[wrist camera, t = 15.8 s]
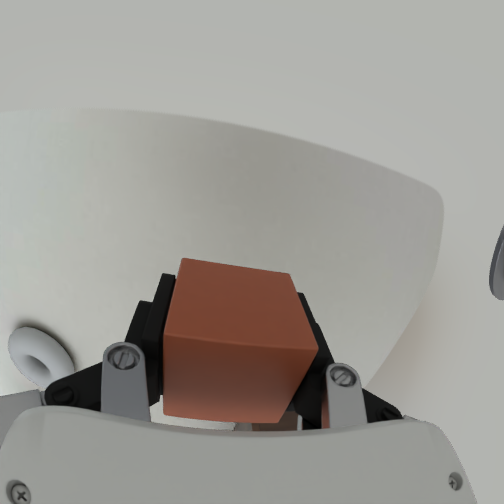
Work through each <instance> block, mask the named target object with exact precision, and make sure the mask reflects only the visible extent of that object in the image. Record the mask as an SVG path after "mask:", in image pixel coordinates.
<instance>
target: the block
mask: <svg viewBox="0 0 504 504" xmlns="http://www.w3.org/2000/svg"><path fill="white" fill-rule="evenodd" d="M317 352H318V345H317V342H316V340H315V337H314V334H313V332H312V329H311V327H310V324H309V322H308V319H307V317H306V314H305V311H304V309H303V306H302V304H301V301H300V299H299V296H298V294H297V291H296V289H295V286H294V284H293V281H292V279H291V277H290V274H288V273H281V272H274V271H267V270H260V269H253V268H247V267H240V266H233V265H227V264H220V263H214V262H207V261H201V260H194V259H188V258H182V260H181V264H180V268H179V271H178V275H177V279H176V283H175V287H174V291H173V295H172V299H171V303H170V307H169V312H168V316H167V320H166V325H165V329H164V335H163V413H164V415H168V416H174V417H182V418H190V419H199V420H209V421H222V422H241V423H278V422H279V420H280V418H281V417H282V415H283V413H284V412H285V410H286V408H287V407H288V405H289V403H290V401H291V400H292V398H293V396H294V395H295V393H296V391H297V389H298V387H299V386H300V384H301V382H302V380H303V378H304V376H305V375H306V373H307V371H308V369H309V367H310V365H311V363H312V361H313V359H314V357H315V356H316V354H317Z"/></svg>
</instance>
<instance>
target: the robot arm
mask: <svg viewBox="0 0 504 504" xmlns="http://www.w3.org/2000/svg"><path fill="white" fill-rule="evenodd" d="M175 283H176V279H175V275H171V274H165V273H162V276H161V279H160V282H159V285H158V288H157V291H156V294H155V297H154V300H153V302H147V301H141V300H140V301H139V303H138V306H137V308H136V311H135V314H134V316H133V319H132V322H131V324H130V327H129V330H128V333H127V335H126V338H125V341H124V342H118V343H114V344H112V345H110V346H109V347H107V349H106V350H105V351H104V355H103V362H100V363H98V364H96V365H93V366H91V367H88V368H86V369H83V370H81V371H78V372H76V373H74V374H71V375H69V376H66V377H63V378H61V379H58V380H56V381H54V382H52V383H50V385H49V386H48V387H47V388H46V390H45V391H41V392H40V391H39V389H36V390H31V391H26V392H21V393H16V394H10V395H5V396H0V504H477V501H476V498H475V495H474V493H473V490H472V488H471V485H470V483H469V480H468V478H467V476H466V473H465V471H464V469H463V466H462V464H461V462H460V460H459V458H458V456H457V454H456V452H455V450H454V448H453V446H452V445H451V443H450V441H449V440H448V438H447V437H446V435H445V434H444V432H443V431H442V430H441V429H440V428H439V427H437V426H436V425H434V424H432V423H429V422H426V421H420V420H417V419H414V418H412V417H409V416H406V415H404V416H403V417H402V415H401V413H400V411H399V410H398V409H397V408H396V407H394V406H393V405H391V404H389V403H388V402H386V401H384V400H382V399H380V398H379V397H377V396H375V395H373V394H372V393H370V392H368V391H367V390H365V389H363V388H362V387H361V382H360V377H359V375H358V373H357V372H356V370H354V369H353V368H352V367H350V366H349V365H347V364H343V363H335V362H334V360H333V357H332V355H331V352H330V350H329V348H328V345H327V343H326V341H325V338H324V336H323V333H322V331H321V329H320V326H319V325H318V323H316V322H315V319H314V317H313V315H312V312H311V310H310V308H309V305H308V303H307V301H306V298H305V296H304V294H303V293H299V292H297V294H298V296H299V299H300V301H301V304H302V306H303V309H304V311H305V314H306V317H307V319H308V322H309V324H310V327H311V329H312V332H313V334H314V337H315V340H316V342H317V345H318V352H317V354H316V356H315V357H314V359H313V361H312V363H311V365H310V367H309V369H308V371H307V373H306V375H305V376H304V378H303V380H302V382H301V384H300V386H299V387H298V389H297V391H296V393H295V395H294V396H293V398H292V400H291V401H290V403H289V405H288V407H287V408H286V412H292V411H295V413H297V414H298V425H297V431H227V430H212V429H200V428H190V427H182V426H174V425H167V424H160V423H154V422H151V416H150V409H149V407H150V406H152V405H153V404H155V403H157V402H159V400H160V395H163V335H164V329H165V325H166V320H167V316H168V312H169V307H170V303H171V299H172V295H173V291H174V287H175Z"/></svg>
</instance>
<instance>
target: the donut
mask: <svg viewBox="0 0 504 504" xmlns="http://www.w3.org/2000/svg"><path fill="white" fill-rule="evenodd" d="M8 350H9V353H10V357H11V359H12V361H13V363H14V364H15V366H16V367H17V368H18V370H19V371H20V372H21V373H22V374H23V375H24V376H25V377H26V378H28V379H29V380H30V381H32V382H33V383H35V384H36V385H38V386H40V387H43V388H45V389H46V388H47V387H48V386H49V385H50V383H52V382H54V381H56V380H58V379H61V378H63V377H66V376H69V375H71V374H74V365H73V363H72V361H71V359H70V357H69V355H68V354H67V352H66V351H65V350H64V349H63V347H62V346H61V345H60V344H59V343H58V342H57V341H55V340H54V339H53V338H52V337H50V336H49V335H47V334H46V333H44V332H42V331H40V330H37V329H35V328H29V327H22V328H18V329H16V330H15V331H14V332H13V333H12V334H11V335H10V337H9V342H8ZM39 360H40V361H39Z"/></svg>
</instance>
